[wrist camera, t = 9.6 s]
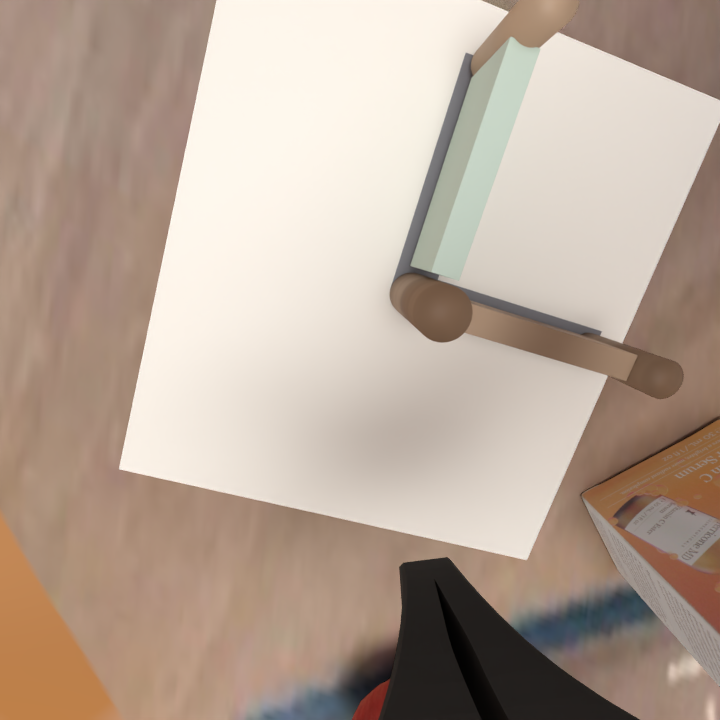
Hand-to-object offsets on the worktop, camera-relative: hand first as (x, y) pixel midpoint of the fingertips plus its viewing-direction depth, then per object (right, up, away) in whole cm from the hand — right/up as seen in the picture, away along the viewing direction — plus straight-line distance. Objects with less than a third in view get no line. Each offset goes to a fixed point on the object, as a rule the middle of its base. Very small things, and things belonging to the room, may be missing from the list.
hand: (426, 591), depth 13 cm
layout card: (0, +9, +7) cm, 12 cm away
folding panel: (+2, +14, +6) cm, 15 cm away
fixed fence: (+4, +8, +8) cm, 12 cm away
